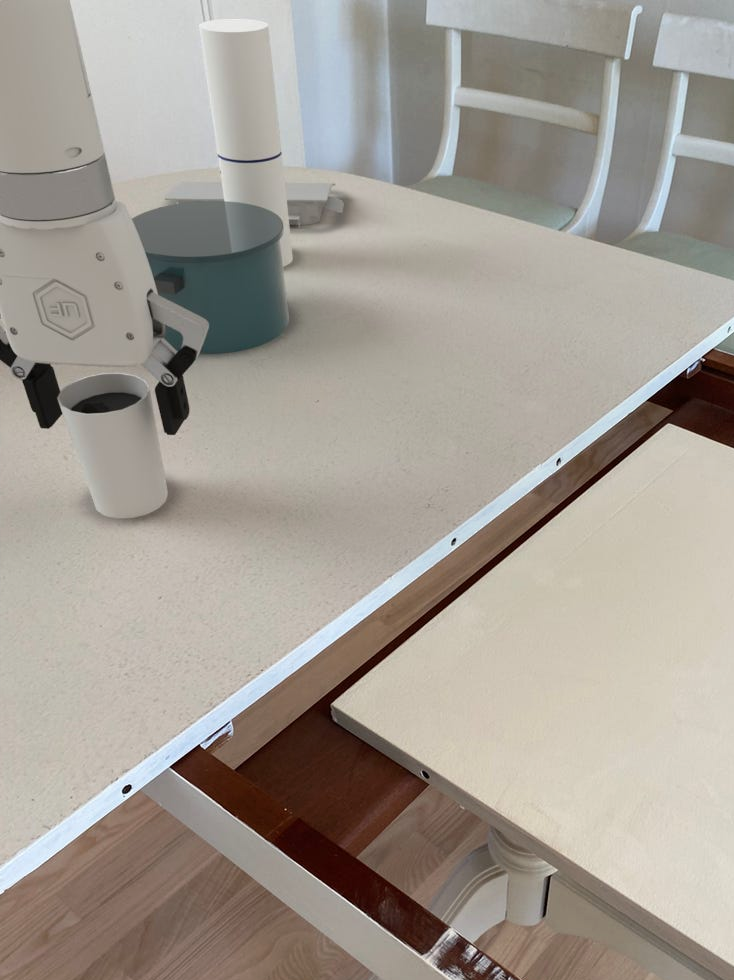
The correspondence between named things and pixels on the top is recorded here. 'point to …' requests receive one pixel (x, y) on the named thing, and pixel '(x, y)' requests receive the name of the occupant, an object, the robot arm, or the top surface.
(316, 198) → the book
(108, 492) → the white cup
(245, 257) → the pot
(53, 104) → the robot arm
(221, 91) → the cylindrical container
